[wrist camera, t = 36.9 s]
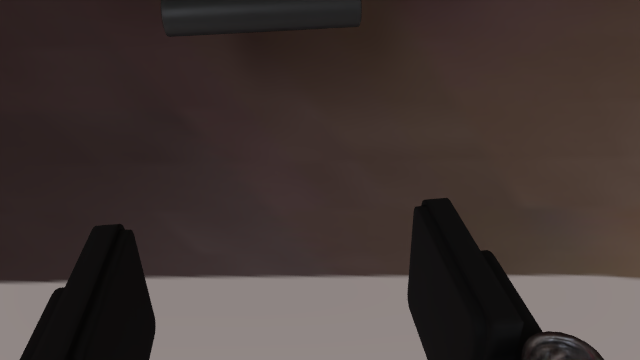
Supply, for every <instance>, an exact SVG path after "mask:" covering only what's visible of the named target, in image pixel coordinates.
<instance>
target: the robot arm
mask: <svg viewBox="0 0 640 360" xmlns="http://www.w3.org/2000/svg"><path fill="white" fill-rule="evenodd" d="M408 304H409V309H410V312H411V314H412V317H413V320H414V323H415V326H416V328H417V331H418V334H419V337H420V339H421V342H422V345H423V348H424V351H425V353H426V356H427V359H428V360H604V359H603V358H602V356H601V355H600V354H599V353H598V352H597V350H595V349H594V348H593V347H591V346H590V345H589V344H588V343H586V342H584V341H582V340H580V339H578V338H576V337H574V336H572V335H568V334H564V333H561V332H549V331H548V332H542V330H541V329H540V327H539V326H538V324H537V322H536V321H535V319H534V318H533V316H532V315H531V313H530V312H529V310H528V308H527V307H526V305H525V303H524V302H523V300H522V299H521V297H520V296H519V294H518V293H517V291H516V289H515V288H514V286H513V285H512V283H511V281H510V280H509V278H508V277H507V275H506V273H505V272H504V270H503V269H502V267H501V266H500V264H499V262H498V261H497V259H496V258H495V256H494V255H493V254H492V253H491V252H490V251H488V250H484V251H480V249H479V248H478V246H477V244H476V243H475V241H474V240H473V238H472V236H471V235H470V233H469V231H468V230H467V228H466V226H465V225H464V223H463V221H462V220H461V218H460V216H459V215H458V213H457V211H456V210H455V208H454V206H453V205H452V203H451V201H450V200H449V199H448V198H441V199H429V200H423V202H422V205H421V206H418V207H415V209H414V216H413V229H412V242H411V255H410V268H409V282H408ZM154 335H155V317H154V313H153V309H152V305H151V301H150V297H149V293H148V289H147V285H146V281H145V277H144V273H143V269H142V265H141V261H140V257H139V253H138V249H137V245H136V241H135V237H134V234H133V231H132V230H125V229H124V227H123V225H121V224H115V225H102V226H95V227H94V228H93V229H92V231H91V233H90V235H89V237H88V240H87V242H86V244H85V246H84V248H83V250H82V252H81V254H80V257H79V259H78V261H77V263H76V265H75V267H74V269H73V271H72V273H71V276H70V278H69V280H68V282H67V284H66V286H65V287H64V288H58V289H56V290H55V291H54V293H53V294H52V296H51V297H50V299H49V302H48V304H47V305H46V308H45V310H44V312H43V314H42V316H41V318H40V320H39V322H38V324H37V326H36V328H35V330H34V332H33V334H32V336H31V338H30V340H29V342H28V344H27V346H26V348H25V350H24V352H23V354H22V356H21V358H20V360H149V358H150V353H151V348H152V344H153V340H154Z"/></svg>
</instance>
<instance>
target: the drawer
mask: <svg viewBox="0 0 640 360" xmlns="http://www.w3.org/2000/svg"><path fill="white" fill-rule="evenodd" d="M361 12H362V6H361V0H161V15H162V22H163V26H164V30H165V33H166V35H167V36H169V37H173V36H192V35H211V34H230V33H249V32H268V31H287V30H306V29H325V28H344V27H358V26H359V25H360V22H361Z"/></svg>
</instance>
